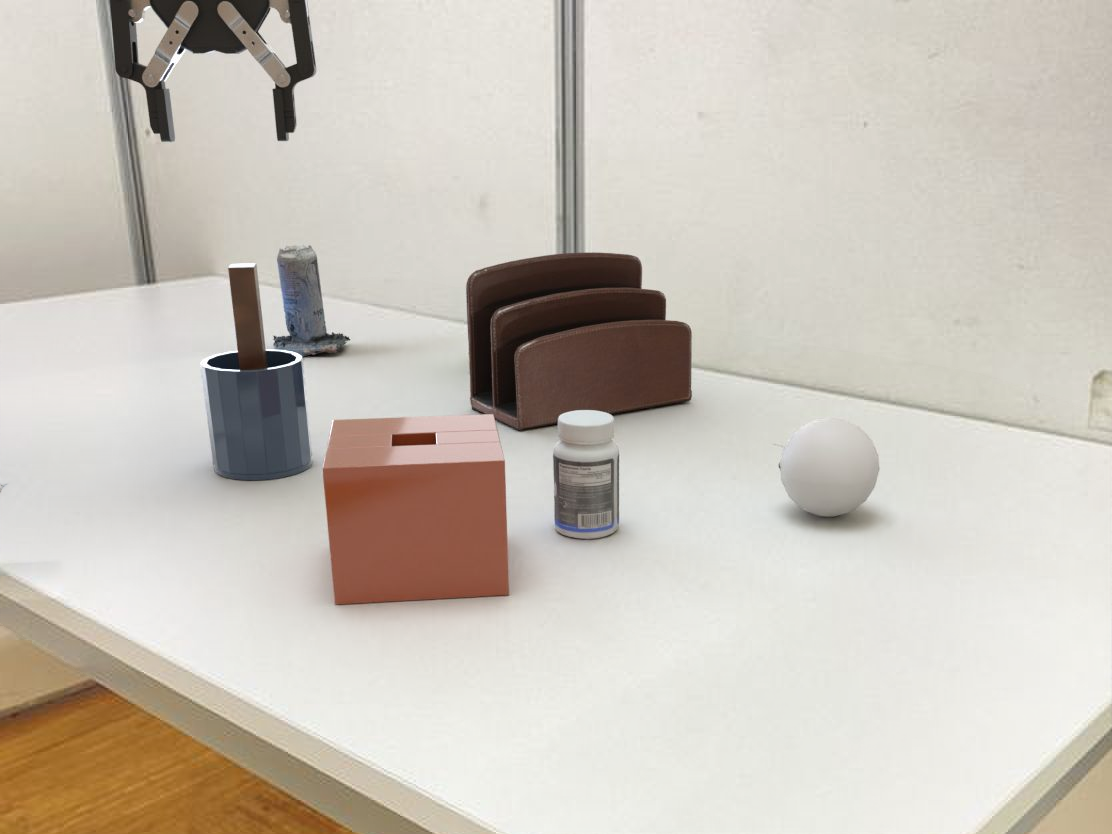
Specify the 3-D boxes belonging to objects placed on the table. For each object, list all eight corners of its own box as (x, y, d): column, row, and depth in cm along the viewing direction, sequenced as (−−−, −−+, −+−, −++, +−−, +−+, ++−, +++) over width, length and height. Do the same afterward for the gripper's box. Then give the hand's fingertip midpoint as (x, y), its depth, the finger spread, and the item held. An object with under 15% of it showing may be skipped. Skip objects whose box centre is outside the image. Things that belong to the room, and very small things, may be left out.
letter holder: (468, 408, 123) (462, 261, 117) (636, 382, 133) (638, 245, 127) (518, 432, 115) (514, 275, 109) (692, 402, 125) (697, 257, 119)
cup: (208, 482, 102) (193, 372, 98) (221, 453, 109) (208, 350, 105) (308, 478, 103) (298, 369, 99) (315, 450, 110) (305, 347, 106)
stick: (250, 463, 105) (227, 267, 98) (253, 456, 107) (230, 263, 100) (274, 462, 105) (253, 267, 99) (277, 455, 107) (256, 263, 100)
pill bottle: (570, 514, 95) (569, 405, 91) (628, 522, 93) (629, 411, 90) (543, 534, 91) (541, 421, 87) (604, 544, 89) (604, 428, 86)
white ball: (895, 522, 93) (905, 426, 90) (808, 536, 90) (816, 437, 87) (823, 483, 101) (830, 394, 98) (742, 494, 99) (746, 403, 96)
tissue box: (334, 604, 79) (322, 468, 75) (343, 543, 89) (332, 419, 85) (509, 595, 80) (504, 460, 77) (498, 535, 90) (493, 413, 87)
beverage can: (273, 360, 142) (261, 251, 138) (273, 346, 149) (262, 242, 144) (354, 356, 144) (345, 248, 140) (350, 342, 151) (342, 239, 146)
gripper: (306, -94, 93) (324, 138, 100) (107, -97, 92) (138, 139, 98) (297, -106, 87) (317, 143, 93) (82, -110, 85) (118, 144, 91)
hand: (225, 141), depth 96 cm, fingers open, 8 cm apart
